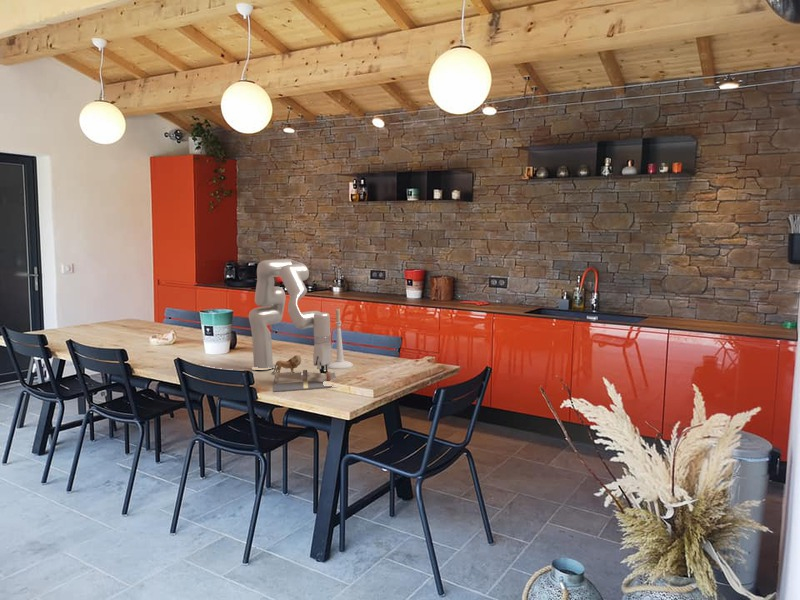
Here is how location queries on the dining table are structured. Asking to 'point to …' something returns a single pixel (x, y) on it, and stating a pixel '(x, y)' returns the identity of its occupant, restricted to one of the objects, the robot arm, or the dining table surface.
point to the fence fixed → (290, 377)
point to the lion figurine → (288, 364)
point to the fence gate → (319, 376)
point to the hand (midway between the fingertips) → (324, 379)
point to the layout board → (300, 385)
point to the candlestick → (339, 348)
